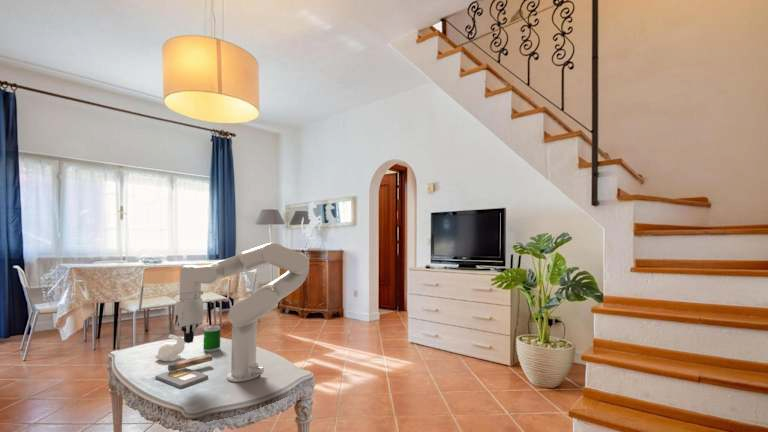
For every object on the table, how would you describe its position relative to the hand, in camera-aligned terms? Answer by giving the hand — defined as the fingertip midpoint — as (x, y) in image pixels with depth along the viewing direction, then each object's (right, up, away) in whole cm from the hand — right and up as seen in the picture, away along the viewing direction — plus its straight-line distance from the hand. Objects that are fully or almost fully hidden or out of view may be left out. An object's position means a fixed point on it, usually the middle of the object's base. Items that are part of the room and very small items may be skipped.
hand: (188, 342), depth 141 cm
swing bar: (-5, -13, +10) cm, 17 cm away
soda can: (-8, -17, +36) cm, 40 cm away
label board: (-3, -15, +1) cm, 16 cm away
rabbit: (-21, -17, +24) cm, 36 cm away
